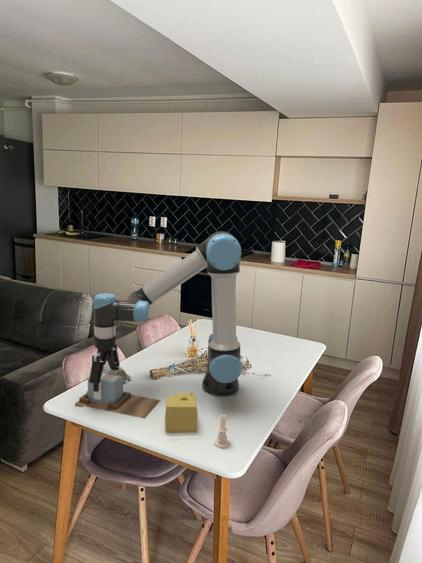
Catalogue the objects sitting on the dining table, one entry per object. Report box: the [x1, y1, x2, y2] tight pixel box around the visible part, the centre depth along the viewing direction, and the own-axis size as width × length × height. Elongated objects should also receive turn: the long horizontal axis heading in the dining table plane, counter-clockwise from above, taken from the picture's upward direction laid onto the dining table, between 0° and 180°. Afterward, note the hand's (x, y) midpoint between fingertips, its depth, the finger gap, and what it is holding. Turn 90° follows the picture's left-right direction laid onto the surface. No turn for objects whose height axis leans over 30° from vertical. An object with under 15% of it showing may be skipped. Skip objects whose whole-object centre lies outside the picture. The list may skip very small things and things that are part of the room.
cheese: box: [164, 392, 199, 433], centre depth 144 cm, size 10×11×10 cm
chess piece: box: [213, 413, 231, 449], centre depth 135 cm, size 5×5×10 cm
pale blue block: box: [87, 373, 124, 405], centre depth 159 cm, size 11×6×9 cm, turn 74°
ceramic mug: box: [102, 363, 131, 384], centre depth 175 cm, size 11×8×8 cm
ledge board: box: [74, 390, 161, 419], centre depth 158 cm, size 28×14×3 cm, turn 73°
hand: (105, 392), depth 159 cm, fingers open, 10 cm apart
